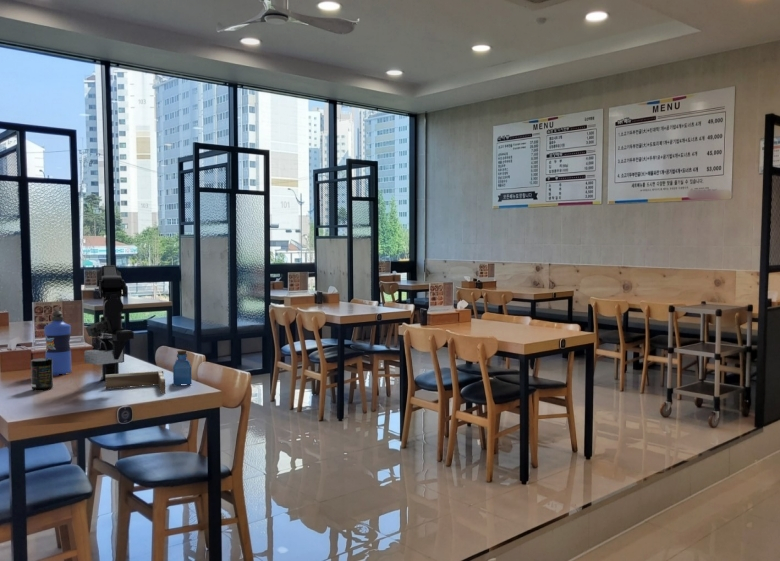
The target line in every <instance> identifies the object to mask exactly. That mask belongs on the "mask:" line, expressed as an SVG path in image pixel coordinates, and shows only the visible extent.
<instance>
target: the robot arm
mask: <svg viewBox="0 0 780 561" xmlns="http://www.w3.org/2000/svg"><path fill="white" fill-rule="evenodd" d="M117 267H118V266H117V265H115V264H112V265H111V264H107V265H106V264H105V265H101V269H100V270H98V271H97V272H96V280H95V281H96V287H98V293H99V296H100V297H99V298H102V308H103V312H102V313H103V316H100V317H99V321H97V322H95V323H92V324H91V325H89V326H85V330H86V333H87V336H88V337H91V338H97V340H98V341H100V343H99V347H98V348H97V350H99V351H105V350H113V352H114V358H115V360H118V359H119V357H120V355H121V353H122V350H123V362H117V363H109V364H101V372H102V374H101V375H102V376H101V378H100V380H101V381H102V382H103V381H105V382H106V380H105V375H108V374H120V369H119V363H120V364H122V363H125V350H124V349H125V346H127V345H126V344H127V343H128V341H130V340H134V339H135V332H134V331H133V330H130V329H129V330H128V329H125V327H123V322H122V320H124V319H125V316H124V315H122V312H123V309H124V304H123V301H122V299H121V298H122V297H126V295H127V284H126V282H125V280H124V279H122V272H121V271H119V270H118V269H117ZM98 337H99V338H98Z"/></svg>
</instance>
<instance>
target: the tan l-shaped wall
mask: <svg viewBox="0 0 780 561" xmlns="http://www.w3.org/2000/svg"><path fill="white" fill-rule="evenodd" d="M153 384H158V385H157V386H158V387H160V388H159V390H161V391H160V393H161V394H162V393H164V394H166V378H165V376H164V370H154V371H153V370H152V371H141V372H140V371H139V372H126V373H125V372H122V373H119V374H108V375H105V389H106V390H108V388H111V389H121V387H123V388H131V387H130V386H136V387H143V386H142V385H149V386H154V385H153Z"/></svg>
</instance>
